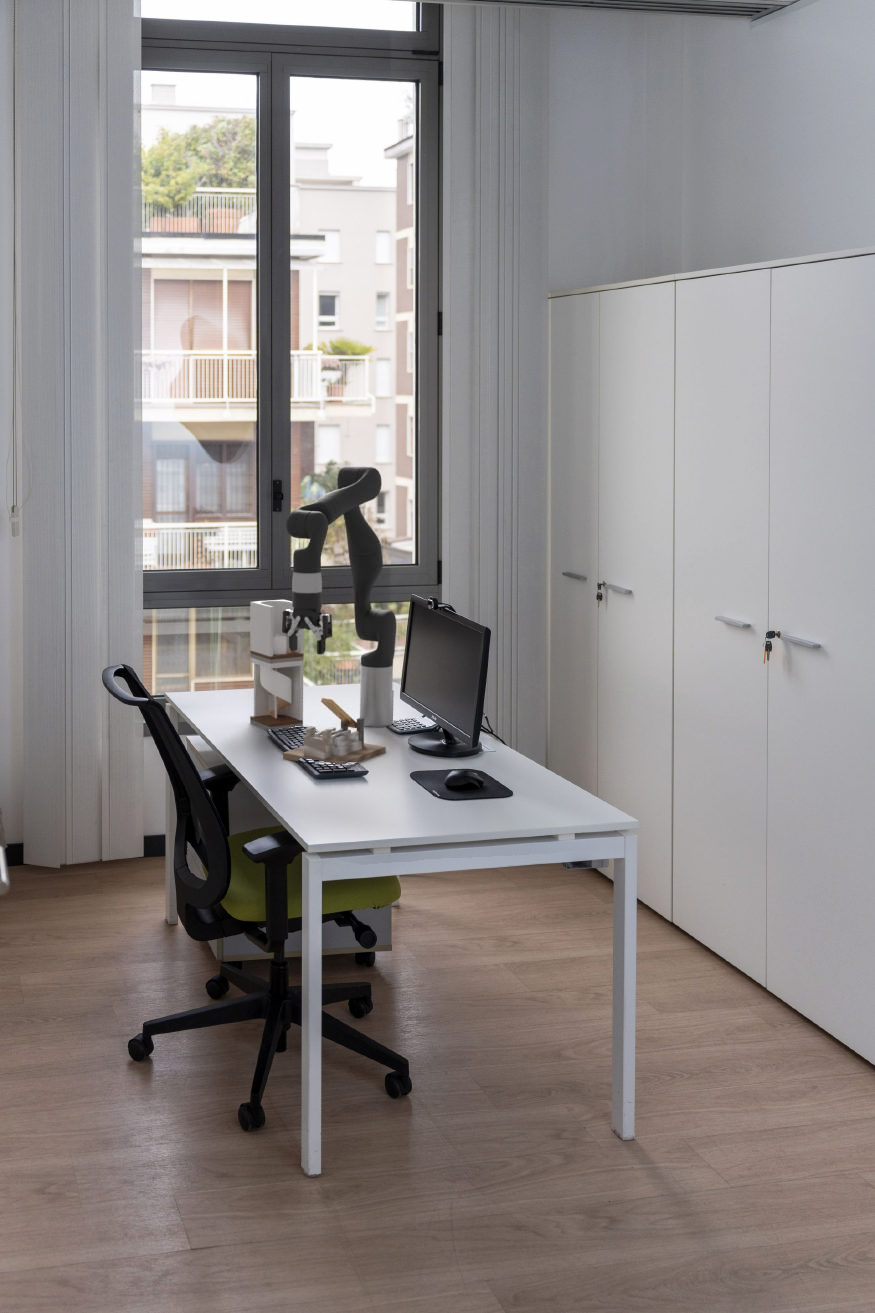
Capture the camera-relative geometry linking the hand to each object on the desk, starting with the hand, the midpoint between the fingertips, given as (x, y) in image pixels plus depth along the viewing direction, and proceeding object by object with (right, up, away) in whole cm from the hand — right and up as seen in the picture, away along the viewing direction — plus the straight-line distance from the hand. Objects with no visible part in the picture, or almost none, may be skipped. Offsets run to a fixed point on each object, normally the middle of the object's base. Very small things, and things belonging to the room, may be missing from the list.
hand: (307, 652), depth 340 cm
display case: (-12, -21, +37) cm, 44 cm away
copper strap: (+8, -17, +4) cm, 19 cm away
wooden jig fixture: (+7, -27, +5) cm, 28 cm away
